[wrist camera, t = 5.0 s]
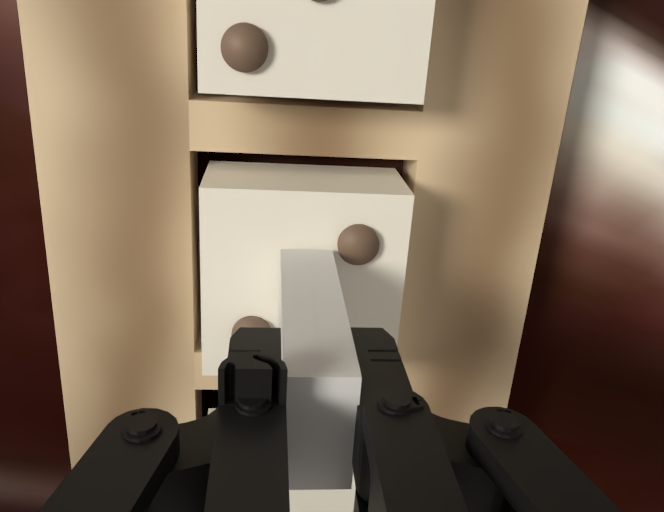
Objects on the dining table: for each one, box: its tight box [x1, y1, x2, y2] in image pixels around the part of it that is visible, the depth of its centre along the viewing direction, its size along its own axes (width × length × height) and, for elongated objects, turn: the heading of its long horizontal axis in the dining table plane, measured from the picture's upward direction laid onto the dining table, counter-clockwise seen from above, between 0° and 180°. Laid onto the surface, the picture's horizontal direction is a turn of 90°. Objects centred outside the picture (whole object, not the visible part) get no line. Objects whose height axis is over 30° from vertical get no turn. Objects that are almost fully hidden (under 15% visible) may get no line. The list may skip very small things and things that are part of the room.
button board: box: [17, 0, 589, 469], centre depth 21 cm, size 16×26×2 cm, turn 176°
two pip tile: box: [199, 161, 415, 376], centre depth 20 cm, size 6×6×3 cm
